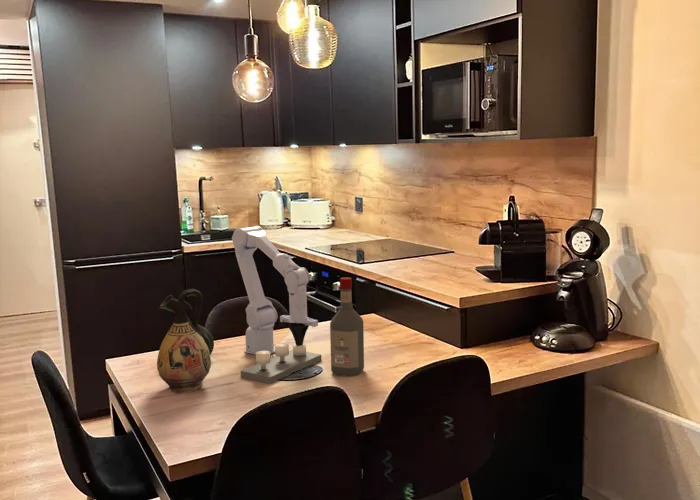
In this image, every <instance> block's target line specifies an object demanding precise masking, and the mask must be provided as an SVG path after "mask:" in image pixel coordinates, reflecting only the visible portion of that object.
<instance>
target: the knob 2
mask: <svg viewBox="0 0 700 500" xmlns="http://www.w3.org/2000/svg"><path fill="white" fill-rule="evenodd" d="M292 349H293V355H296V356H302V355H305V354H306V352H307V344H306V343H304V342H303V345H301V346H296V343H294V344H292Z"/></svg>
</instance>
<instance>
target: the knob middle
mask: <svg viewBox="0 0 700 500" xmlns="http://www.w3.org/2000/svg"><path fill="white" fill-rule="evenodd" d="M289 347H290V346H289V344H288V343H277V344H275V345H274V348H275V352H274V355H275V356H279V357H280V361H285V356H288V355H289V351H290V348H289Z"/></svg>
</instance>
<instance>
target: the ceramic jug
mask: <svg viewBox="0 0 700 500" xmlns="http://www.w3.org/2000/svg"><path fill="white" fill-rule="evenodd" d="M188 297H194V298H195V299H197V302H196V307H195V311H194V314H193V317H192V319H190V318H189V316H188V315H187V314H188V313H189V312H192V310H193V306H192V305H191V304H190V303H189V302H187V301H186V300H185V299H186V298H188ZM203 305H204V297H203V295H202V292H200V290H198V289H195V288H188V289H185V290H184V291H182V292H181V294H179V297H178V298H176V297H174V295H172V294H169V295H168V296H166V298H164V300H163V301H162V302H161V303H160V306H159V309H161V310H164V311H169V312H171V313H173V314H174V315H175V318H174V321H173V324H172V325H171V326H170V328H169V330H168V331H167V333H166V335H165V336H164V338H163V340H162V342H161V344H160V347H159V349H158V350H159V351H158V355H157V360H156V361H157V362H156V365H157V366H156V368H157V373H158V375H159V377H160V378H161V379H162V380H163V382H164V383H166V384H167V385H168V390H170V391H171V392H173V393H177V394H179V393H180V394H181V393H190V392H194V391H196V390H198V389H199V388H201V387H202V385H203V381H204V380H205V379H206V377H207V375H209V373H210V369H211V366H212V359H211V355H210V353H209V349H208V346H207V344H206V343H205V341H204V339H203V337H202V336H201V333H200V329H199V326H198V324H199V319H200V317H201V312H202V309H203Z"/></svg>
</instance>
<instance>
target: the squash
mask: <svg viewBox="0 0 700 500" xmlns="http://www.w3.org/2000/svg"><path fill="white" fill-rule="evenodd" d="M198 326H199V329H200V333H201V336H202V337H203V339H204V341H205V343H206V344H207V346H208V349H209V353H210V356H211V355H212V353H213V350H214V348H215V339H214V336H213V335H212V334H211V332H210V330H208V329H207V328H206V327H204V326H202V325H201V324H199V323H198Z"/></svg>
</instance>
